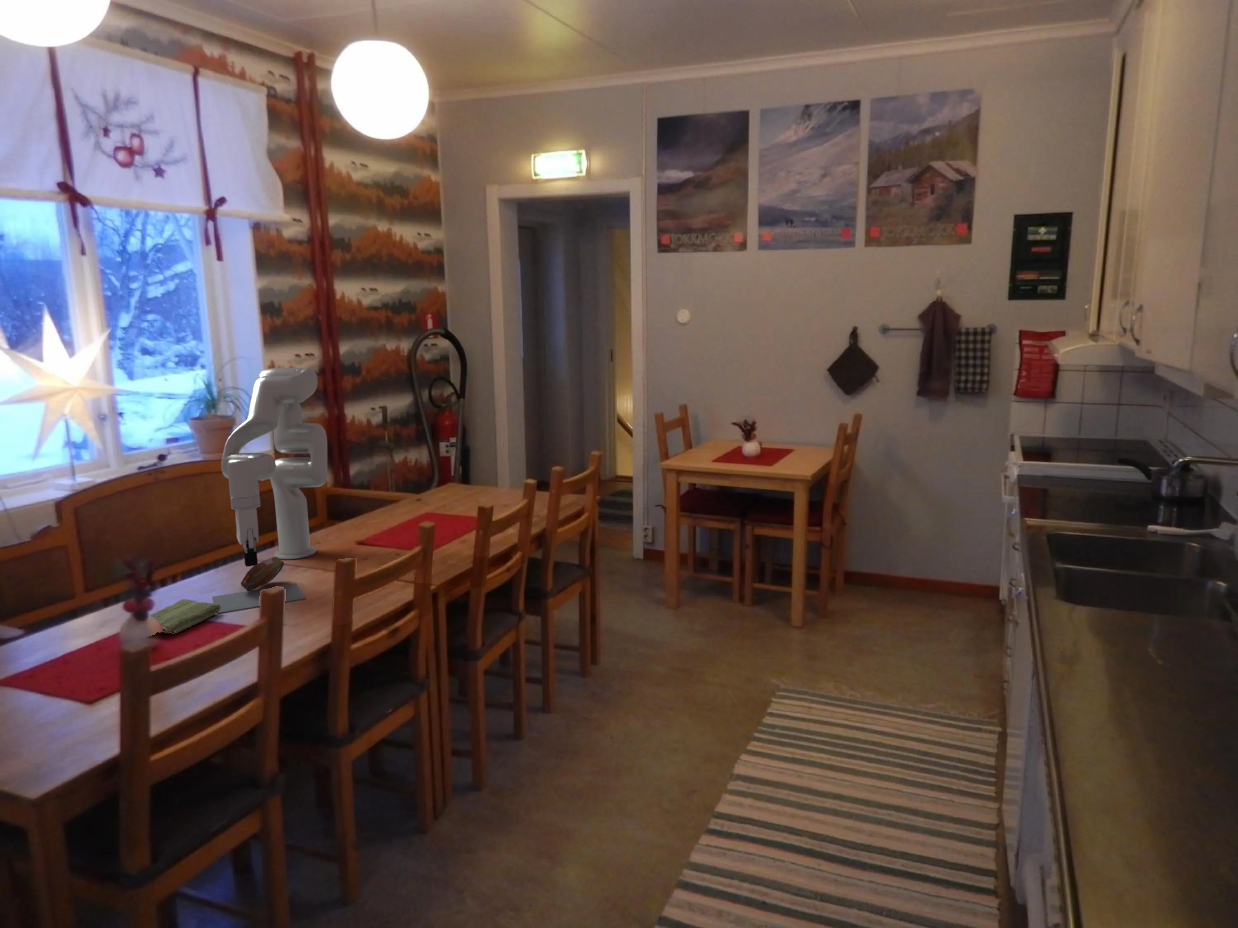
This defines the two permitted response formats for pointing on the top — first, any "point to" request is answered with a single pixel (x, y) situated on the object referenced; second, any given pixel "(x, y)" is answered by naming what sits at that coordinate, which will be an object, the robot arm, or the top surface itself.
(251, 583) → the tin
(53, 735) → the top surface
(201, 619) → the washcloth
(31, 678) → the top surface
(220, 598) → the mat
